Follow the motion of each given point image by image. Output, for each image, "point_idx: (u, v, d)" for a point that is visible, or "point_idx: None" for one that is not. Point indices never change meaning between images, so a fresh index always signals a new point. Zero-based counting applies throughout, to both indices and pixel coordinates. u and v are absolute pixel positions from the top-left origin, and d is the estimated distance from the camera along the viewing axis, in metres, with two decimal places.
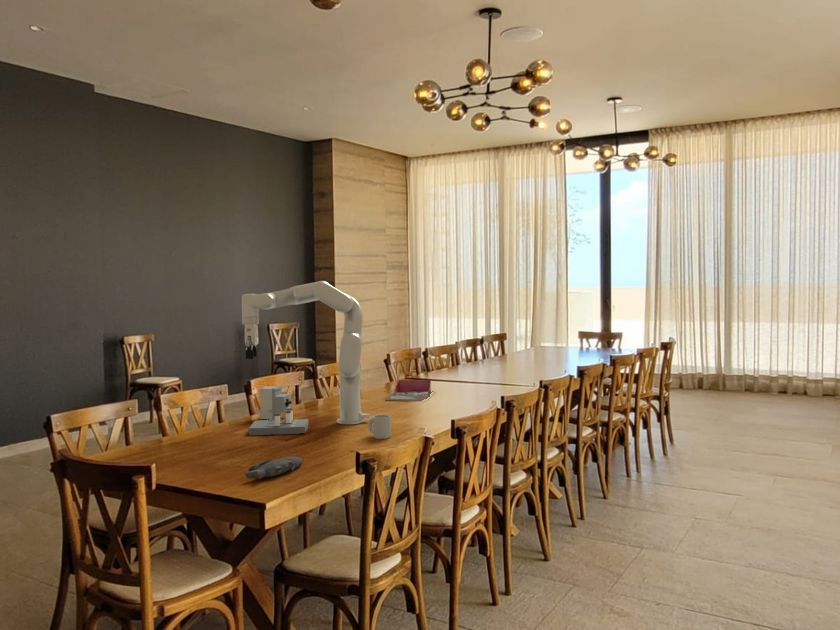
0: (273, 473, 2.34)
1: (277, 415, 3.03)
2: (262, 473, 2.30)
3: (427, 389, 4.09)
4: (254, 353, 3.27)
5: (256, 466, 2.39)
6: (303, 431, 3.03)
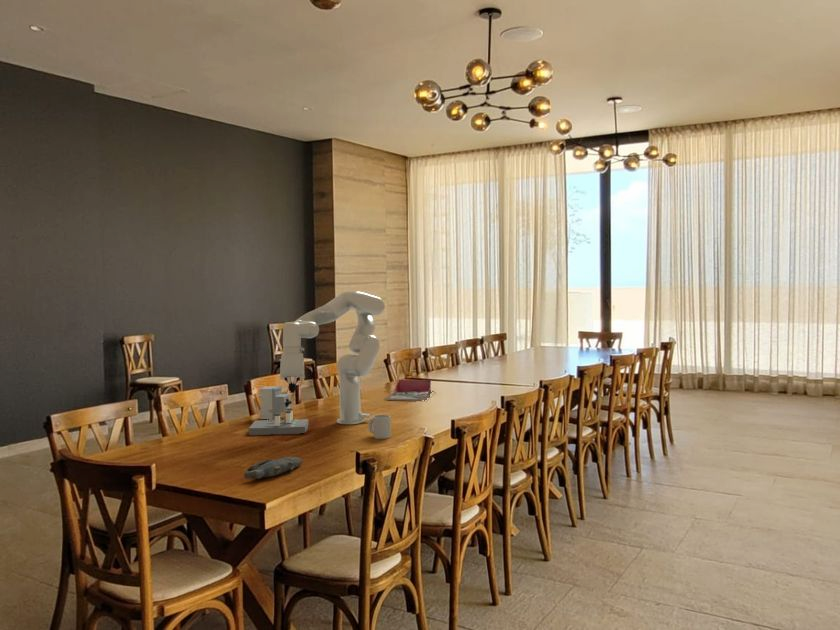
0: (272, 473, 2.34)
1: (277, 415, 3.03)
2: (261, 473, 2.29)
3: (427, 389, 4.10)
4: None
5: (255, 466, 2.39)
6: (303, 431, 3.03)
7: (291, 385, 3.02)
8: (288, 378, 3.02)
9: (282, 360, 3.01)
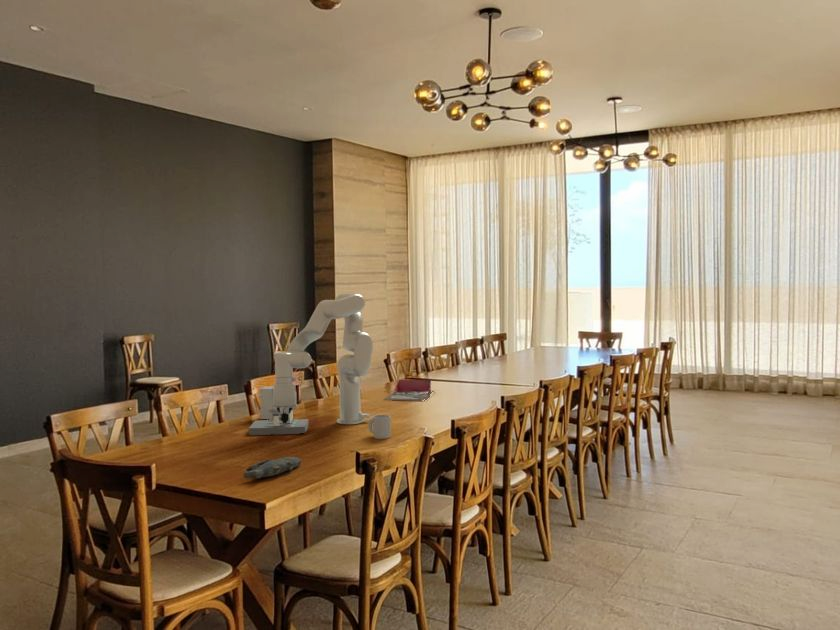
0: (272, 473, 2.34)
1: (276, 415, 3.03)
2: (260, 473, 2.29)
3: (427, 389, 4.10)
4: None
5: (254, 466, 2.39)
6: (303, 431, 3.03)
7: (283, 415, 3.03)
8: (280, 408, 3.03)
9: (274, 390, 3.02)
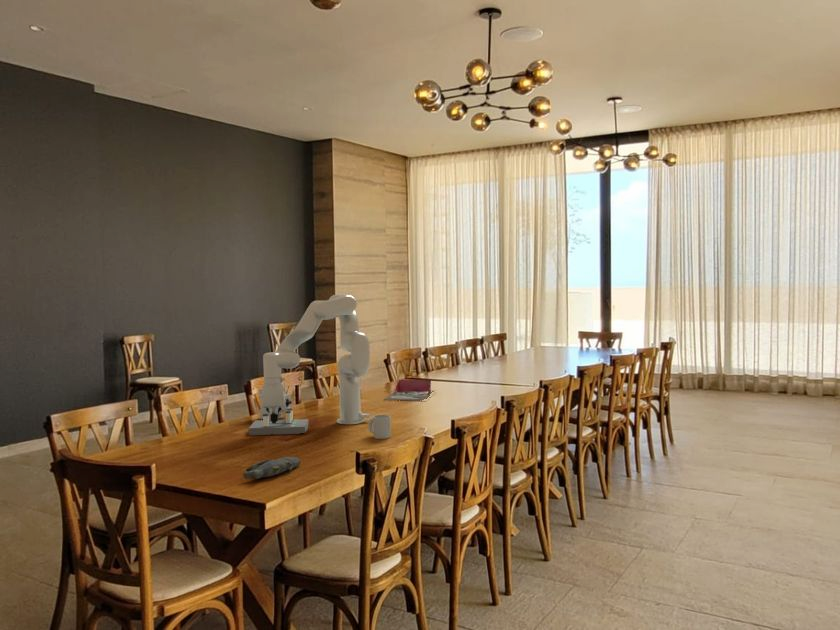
0: (271, 473, 2.34)
1: (265, 415, 3.03)
2: (260, 473, 2.29)
3: (427, 389, 4.11)
4: None
5: (254, 466, 2.39)
6: (303, 431, 3.03)
7: (273, 416, 3.03)
8: (269, 409, 3.03)
9: (263, 391, 3.01)
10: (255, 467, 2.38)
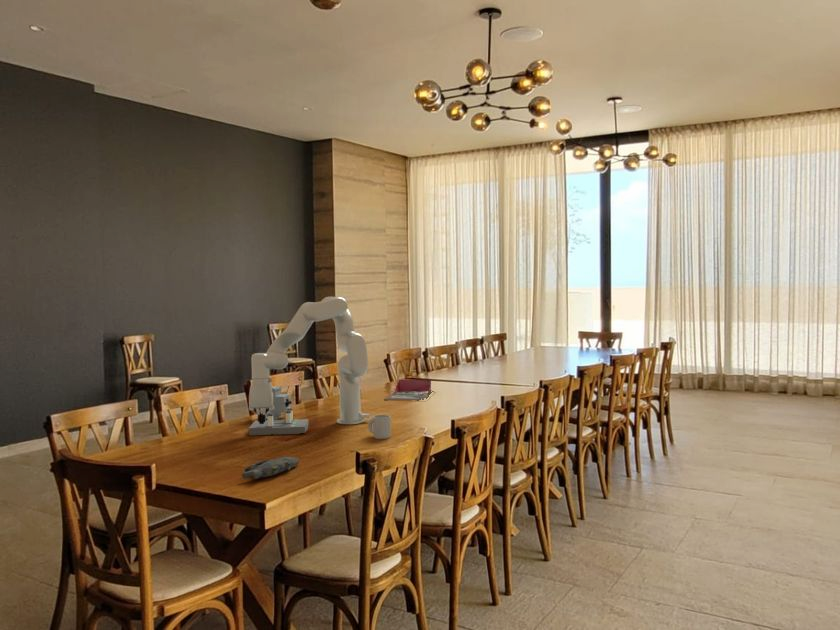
0: (270, 473, 2.34)
1: (270, 415, 3.03)
2: (259, 473, 2.29)
3: (427, 388, 4.11)
4: None
5: (252, 466, 2.39)
6: (303, 431, 3.03)
7: (260, 416, 3.02)
8: (257, 409, 3.02)
9: (251, 392, 3.01)
10: (253, 467, 2.38)
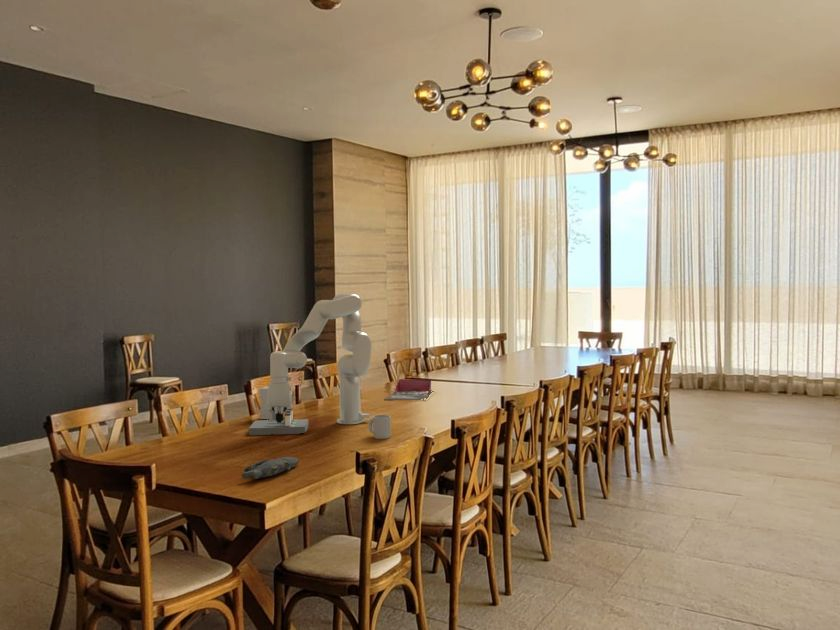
0: (270, 473, 2.34)
1: (287, 415, 3.03)
2: (259, 473, 2.29)
3: (427, 388, 4.12)
4: None
5: (252, 466, 2.39)
6: (303, 431, 3.03)
7: (278, 415, 3.03)
8: (275, 408, 3.03)
9: (269, 390, 3.02)
10: (253, 467, 2.38)
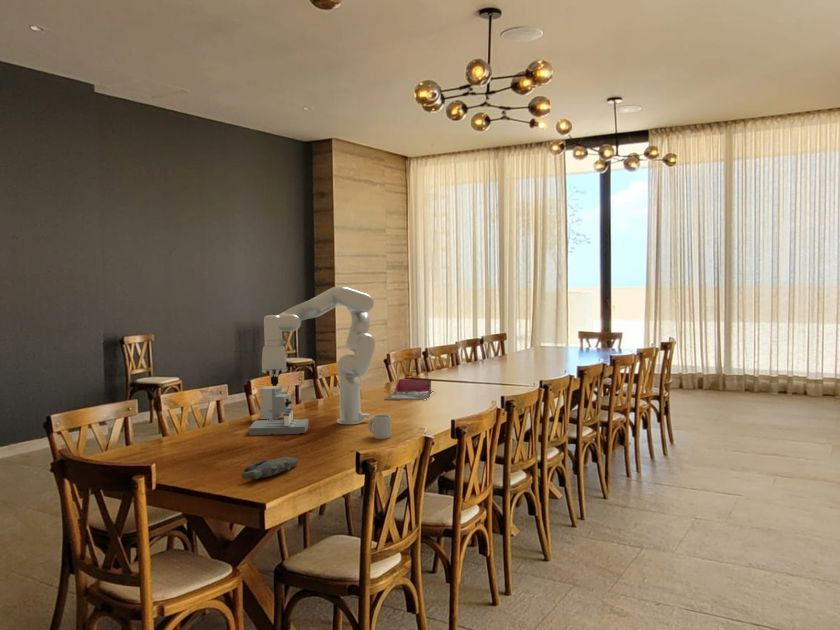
0: (270, 473, 2.34)
1: (286, 415, 3.03)
2: (259, 473, 2.29)
3: (427, 388, 4.12)
4: None
5: (252, 467, 2.38)
6: (303, 431, 3.03)
7: (273, 378, 3.02)
8: (270, 371, 3.02)
9: (263, 353, 3.01)
10: (253, 467, 2.38)
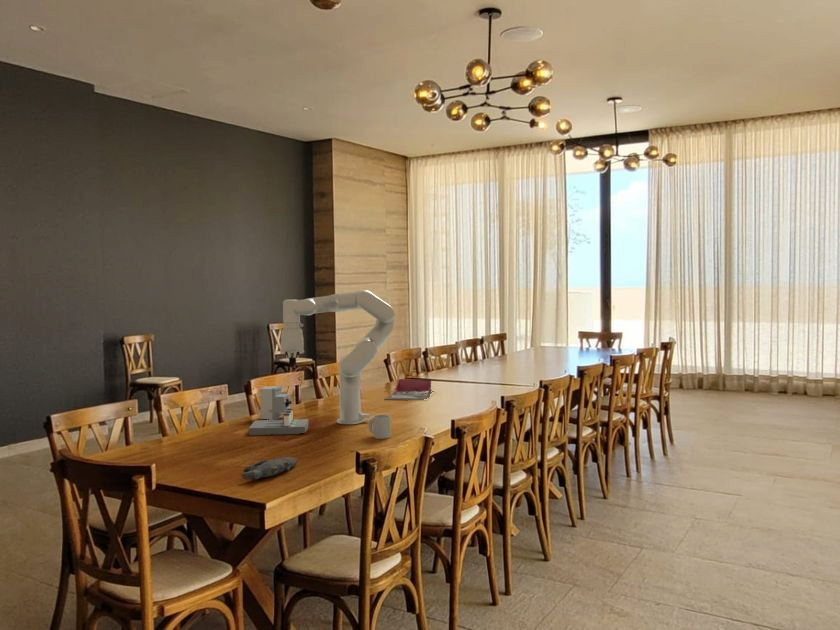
0: (270, 473, 2.34)
1: (286, 415, 3.03)
2: (259, 474, 2.29)
3: (427, 388, 4.13)
4: None
5: (251, 467, 2.38)
6: (303, 431, 3.03)
7: (291, 359, 3.20)
8: (288, 352, 3.20)
9: (282, 335, 3.19)
10: (253, 468, 2.38)
